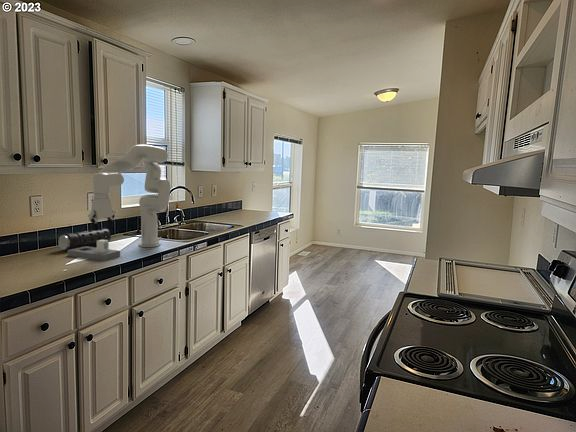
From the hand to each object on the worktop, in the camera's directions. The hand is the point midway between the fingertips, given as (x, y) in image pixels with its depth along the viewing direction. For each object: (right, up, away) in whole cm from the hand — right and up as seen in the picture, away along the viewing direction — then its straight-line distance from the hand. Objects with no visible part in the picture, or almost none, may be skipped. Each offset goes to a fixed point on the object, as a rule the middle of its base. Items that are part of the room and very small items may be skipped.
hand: (102, 229), depth 203 cm
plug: (-1, -15, +2) cm, 15 cm away
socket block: (-6, -15, +4) cm, 17 cm away
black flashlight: (-21, -12, +24) cm, 34 cm away
